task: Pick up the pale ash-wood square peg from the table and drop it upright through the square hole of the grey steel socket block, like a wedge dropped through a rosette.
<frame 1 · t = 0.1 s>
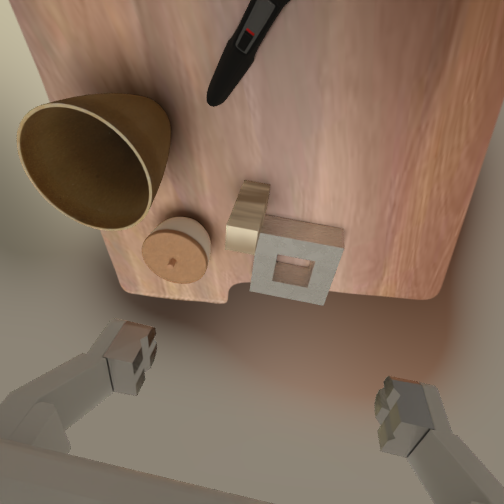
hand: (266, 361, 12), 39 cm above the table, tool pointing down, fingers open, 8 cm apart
electric trimmer: (249, 40, 40), on the table
lidded jar: (189, 231, 60), on the table
ash peg: (256, 193, 52), on the table
socket block: (295, 251, 58), on the table
plant pot: (146, 124, 49), on the table
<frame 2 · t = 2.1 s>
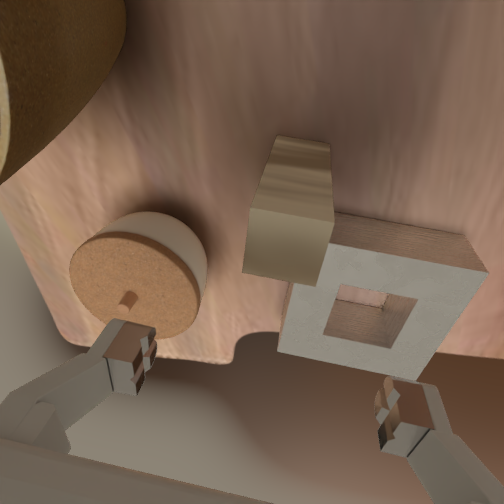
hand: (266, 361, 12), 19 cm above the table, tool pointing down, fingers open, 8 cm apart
lidded jar: (168, 241, 33), on the table
ash peg: (297, 164, 27), on the table
socket block: (361, 279, 32), on the table
plant pot: (76, 10, 23), on the table
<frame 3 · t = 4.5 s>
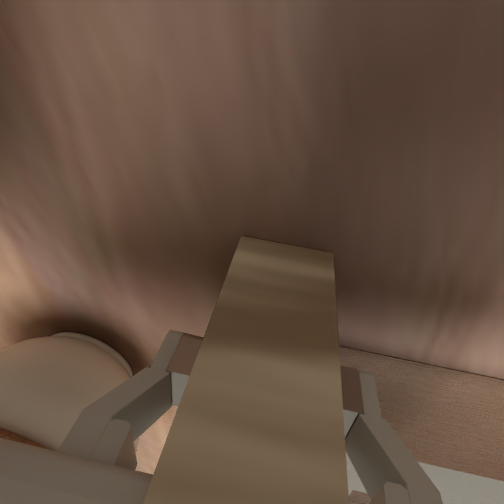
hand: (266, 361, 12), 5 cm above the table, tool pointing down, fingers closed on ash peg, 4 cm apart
lidded jar: (90, 362, 22), on the table
ash peg: (279, 280, 16), on the table, touching gripper
socket block: (381, 429, 21), on the table
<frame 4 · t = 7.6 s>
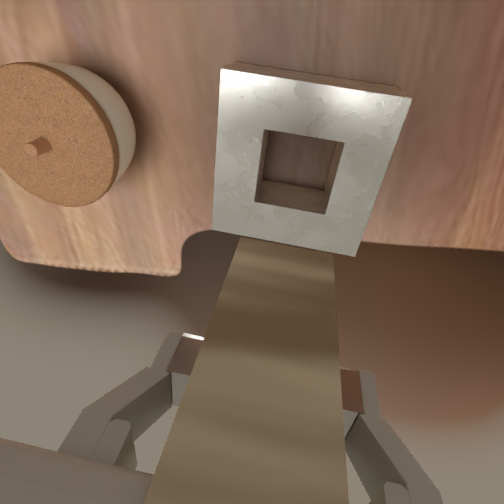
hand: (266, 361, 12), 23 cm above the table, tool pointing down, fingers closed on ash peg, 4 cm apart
lidded jar: (101, 119, 32), on the table
ash peg: (278, 281, 16), point 18 cm above the table, touching gripper
socket block: (299, 154, 31), on the table
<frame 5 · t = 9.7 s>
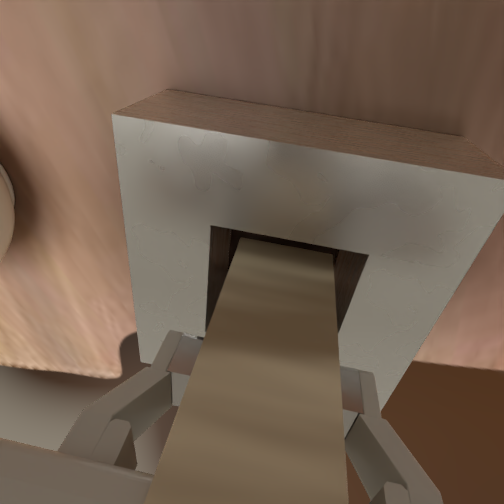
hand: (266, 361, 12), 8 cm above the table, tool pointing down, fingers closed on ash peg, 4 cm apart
ash peg: (278, 281, 16), point 4 cm above the table, touching gripper
socket block: (285, 237, 18), on the table
when the fingers open (6 cm above the table, at t = 10.8 s): ash peg drops 1 cm, resting in socket block.
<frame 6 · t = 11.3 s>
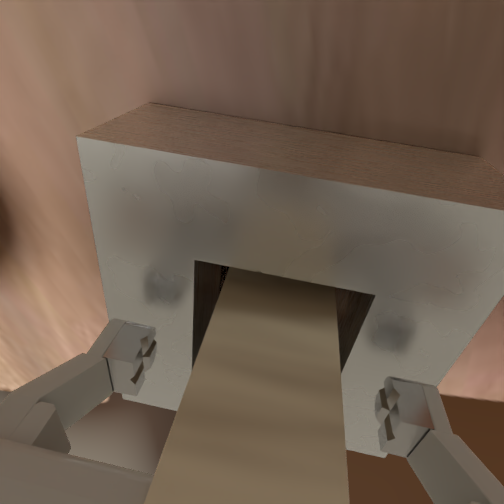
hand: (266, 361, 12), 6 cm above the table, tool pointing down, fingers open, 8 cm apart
ash peg: (281, 261, 17), resting in socket block
socket block: (281, 262, 17), on the table
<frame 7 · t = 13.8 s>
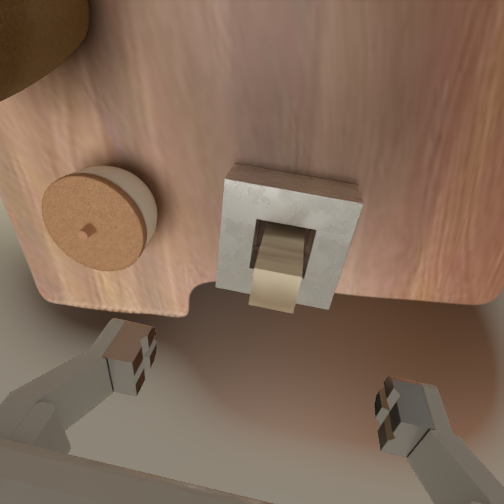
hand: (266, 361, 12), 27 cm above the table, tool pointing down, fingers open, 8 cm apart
lidded jar: (128, 197, 41), on the table
ash peg: (284, 227, 39), resting in socket block
socket block: (284, 227, 39), on the table
plant pot: (53, 7, 31), on the table
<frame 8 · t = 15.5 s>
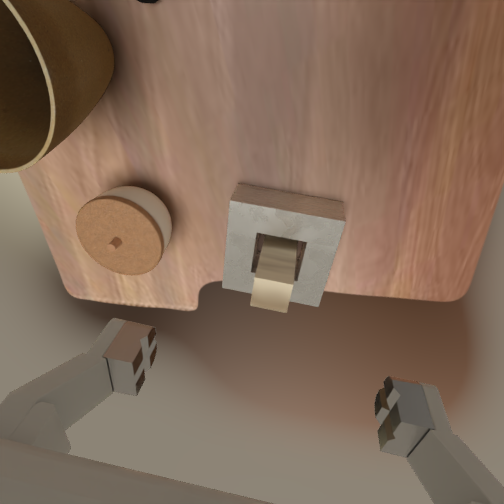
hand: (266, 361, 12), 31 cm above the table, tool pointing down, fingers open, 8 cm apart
lidded jar: (146, 210, 47), on the table
ash peg: (281, 236, 45), resting in socket block
socket block: (281, 236, 45), on the table
plant pot: (83, 54, 37), on the table
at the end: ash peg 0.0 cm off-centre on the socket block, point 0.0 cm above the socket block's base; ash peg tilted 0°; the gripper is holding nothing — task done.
